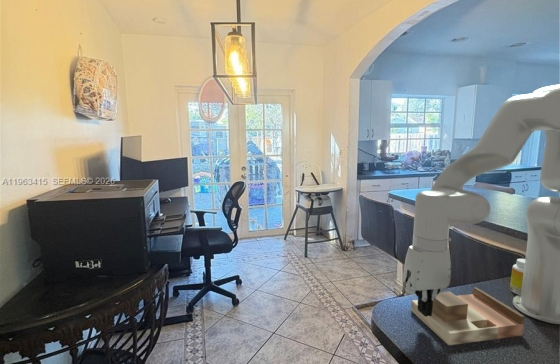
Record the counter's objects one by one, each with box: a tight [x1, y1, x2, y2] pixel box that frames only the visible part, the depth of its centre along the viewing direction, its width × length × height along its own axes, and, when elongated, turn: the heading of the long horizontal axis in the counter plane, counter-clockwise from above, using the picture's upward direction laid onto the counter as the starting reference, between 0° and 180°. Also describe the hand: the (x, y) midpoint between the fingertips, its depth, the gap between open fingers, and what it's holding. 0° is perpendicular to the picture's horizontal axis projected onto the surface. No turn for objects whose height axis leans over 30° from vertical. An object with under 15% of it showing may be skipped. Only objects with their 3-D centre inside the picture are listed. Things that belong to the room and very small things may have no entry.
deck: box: [411, 286, 525, 346], centre depth 76 cm, size 20×14×5 cm
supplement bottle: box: [509, 258, 525, 296], centre depth 90 cm, size 6×6×10 cm
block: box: [432, 291, 468, 322], centre depth 74 cm, size 6×6×4 cm
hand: (424, 313), depth 73 cm, fingers closed
